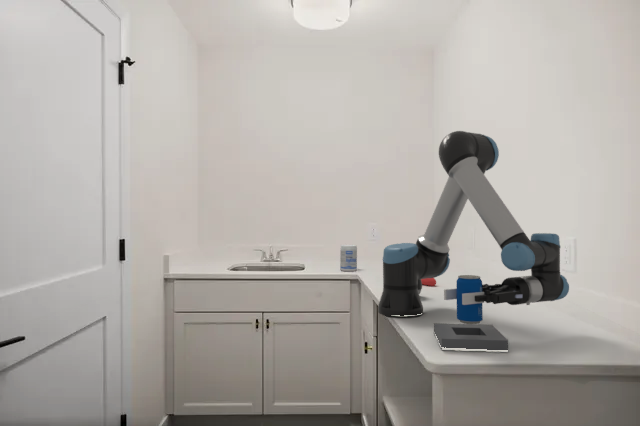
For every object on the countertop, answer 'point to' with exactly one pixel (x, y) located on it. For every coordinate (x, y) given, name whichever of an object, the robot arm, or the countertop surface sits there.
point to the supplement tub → (348, 258)
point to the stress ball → (429, 281)
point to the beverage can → (470, 311)
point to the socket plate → (470, 336)
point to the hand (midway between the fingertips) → (454, 296)
